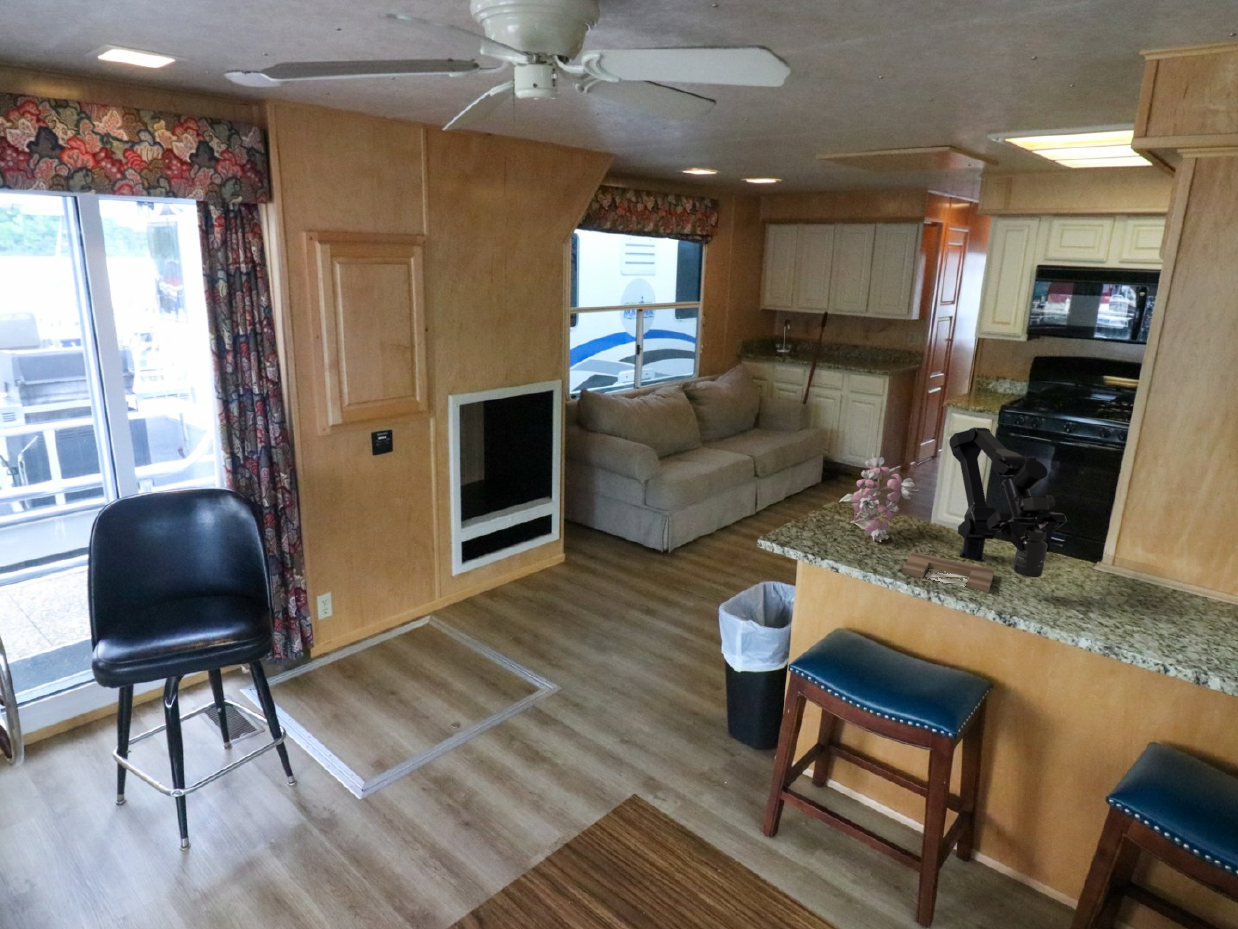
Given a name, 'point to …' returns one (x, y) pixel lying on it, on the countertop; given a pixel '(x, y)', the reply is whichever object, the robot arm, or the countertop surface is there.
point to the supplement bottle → (1031, 553)
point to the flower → (868, 499)
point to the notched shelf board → (977, 575)
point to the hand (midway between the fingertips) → (1035, 551)
